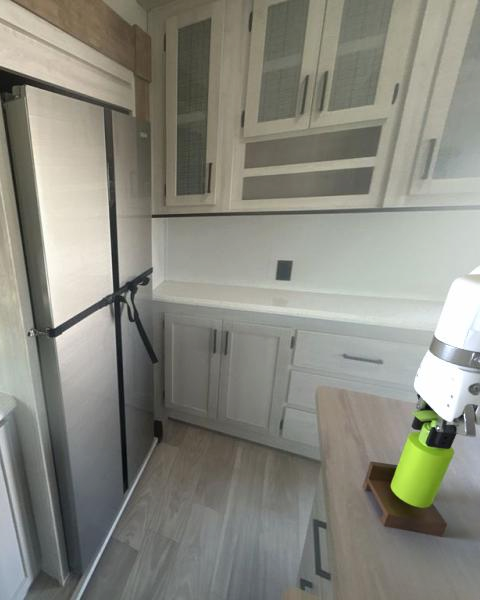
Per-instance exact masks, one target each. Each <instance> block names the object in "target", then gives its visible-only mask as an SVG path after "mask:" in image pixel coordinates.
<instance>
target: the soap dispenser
mask: <svg viewBox="0 0 480 600" xmlns="http://www.w3.org/2000/svg"><path fill="white" fill-rule="evenodd" d="M411 414H413V416H414V417H415V416H416V417H417V418H418V419H419V420H420V421H432V422H431V423H424V424H423V426H422V429H421V430H420V431H413V432H410V433H409V434H408V436H407V438H406V441H405V444H404V447H403V450H402V452H401V454H400V458H399V461H398V463H397V465H398V466H397V469H396V471H395V474H394V477H393V480H392V482H391V489H392V491H393V492H394V494H395V495H396V496H397V497H399V498H400V499H401V500H403V501H404V502H406V503H408V504H410V505H413V506H416V507H420V508H427V507H429V506H431V504H432V503H433V502H434V500H435V498H436V495H437V493H438V492H439V488H440V486H441V484H442V482H443V479H444V477H445V475H446V473H447V470H448V468H449V466H450V464H451V462H452V459H453V456H454V454H455V451H454V448H453V447H452V446H451V448H450V449H442V448H435V447H428V446H427V445H426V444H425V442H426V440H427V437H428V434H429V432H430V429H431V427H435V426H436V422H437V418H438V414H437V413H436V412H435V411H432V410H426V411H419V410H416V411H411ZM446 425H448V421H447V422H446Z"/></svg>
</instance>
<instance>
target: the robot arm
mask: <svg viewBox="0 0 480 600" xmlns="http://www.w3.org/2000/svg"><path fill="white" fill-rule="evenodd" d="M413 388H414V391H416V393H417V394H416V397H417V400H418V401H417V403H416V405H415V408H416V410H417V411H426V410H432V411H435V412H436V413H437V414H438V418H437V422H436V426H435V427H431V429H430V432H429V434H428V437H427V440H426V442H425V444H426V445H427V446H428V447H435V448H442V449H450V448H451V447H452V445H453V444H454V441H455V439H456V436H457V435H459V436H463V437H470V438H475V437H476V436H477V430H476V425H477V426H480V264H479V265H478V266H476V267H475V268H474V269H473V270H471V272H469V273H468V274H464V275H460V276H459V277H457V278H455V279H454V280H453V281H452V283H451V285H450V287H449V290H448V293H447V296H446V298H445V301H444V305H443V307H442V310H441V313H440V316H439V319H438V322H437V325H436V327H435V330H434V333H433V336H432V339H431V342H430V345H429V347H428V350H427V351H426V353H425V355H424V357H423V359H422V361H421V363H420V365H419V367H418V369H417V372H416V375H415V378H414V382H413ZM413 417H414V418H413V420H412V423H411V428H412V429H413V430H416V431H421V429H422V426H423V424H424V423H431V422H432V421H420V420H419V419H418V418H417V417H416V416H415V415H414V416H413ZM446 422H447V423H452V424H446Z"/></svg>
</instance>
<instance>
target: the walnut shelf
mask: <svg viewBox="0 0 480 600" xmlns="http://www.w3.org/2000/svg"><path fill="white" fill-rule="evenodd" d="M397 466H398V464H392V463H385V462H379V461H370V462H369V465H368V467H367V471H366V475H365V478H364V481H363V484H362V488H363V490H364V491H365V492H369V493H372V494H373V496H374V497H375V499H376V501H377V503H378V505H379V507H380V508H381V511H382V515H381V518H380V522H381V524H382V526H383V527H386V528H391V529H397V530H401V531H407V532H412V533H416V534H417V533H418V534H424V535H427V536H434V537H439V538H442V537H443V535H444V533H445V531H446V529H447V527H448V523H447V521H446V520H445V519H444V517H443V515H442V514H441V513H440V512H439V510H438V509H437V508H436V506H435V505H434V503H433V502H432V504H431V506H429V507H427V508H420V507H416V506H413V505H410V504H408V503H406V502H404V501H403V500H401V499H400V498H399V497H397V496H396V495H395V494H394V492H393V491H392V489H391V482H392V480H393V477H394V474H395V471H396V469H397Z"/></svg>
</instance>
